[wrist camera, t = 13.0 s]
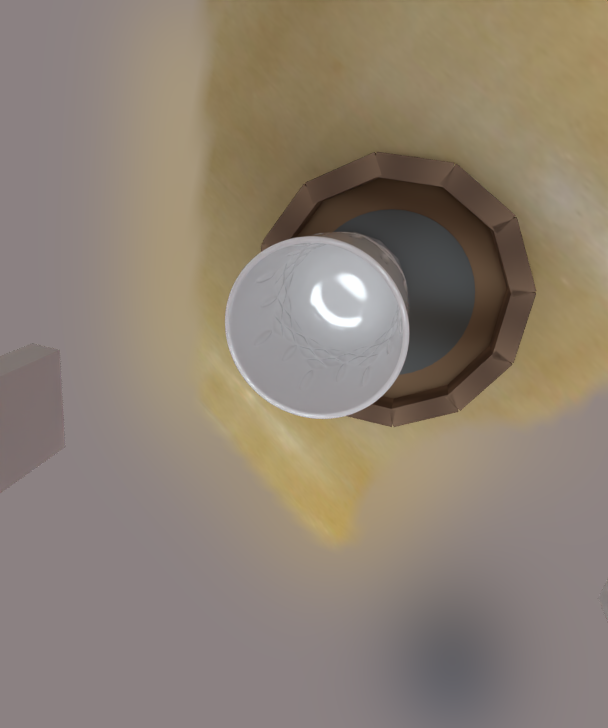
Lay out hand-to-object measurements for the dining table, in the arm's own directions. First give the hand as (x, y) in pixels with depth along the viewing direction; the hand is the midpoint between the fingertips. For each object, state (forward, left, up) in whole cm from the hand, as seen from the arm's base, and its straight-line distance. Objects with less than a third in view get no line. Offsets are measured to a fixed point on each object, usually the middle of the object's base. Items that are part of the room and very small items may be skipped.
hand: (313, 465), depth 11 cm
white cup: (0, -2, -20) cm, 20 cm away
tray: (0, 0, -21) cm, 21 cm away
